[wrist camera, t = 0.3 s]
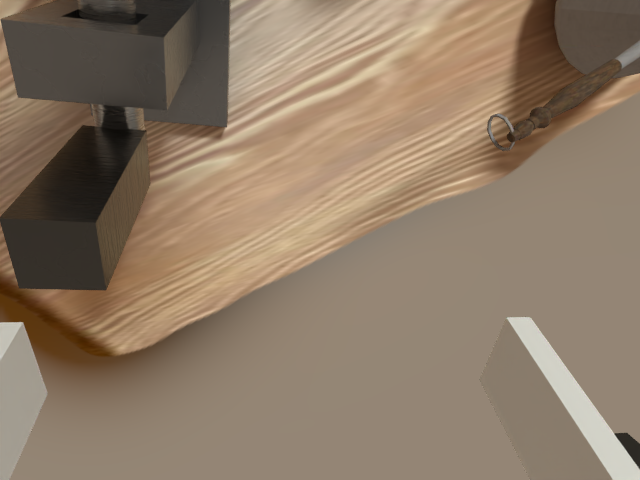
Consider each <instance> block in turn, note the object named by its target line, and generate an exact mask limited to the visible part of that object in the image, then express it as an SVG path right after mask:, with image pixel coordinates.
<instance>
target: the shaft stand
mask: <svg viewBox="0 0 640 480" xmlns="http://www.w3.org/2000/svg"><path fill="white" fill-rule="evenodd" d="M135 8H136V21H137V24H136V25H130V24H121V23H113V22H104V21H96V20H87V19H80V16H79V9H78V2H77V0H56V1H53V2H50V3H47V4H44V5H41V6H38V7H35V8H32V9H29V10H26V11H23V12H20V13H17V14H14V15H11V16H8V17H5V18H2V19H1V23H2V28H3V32H4V37H5V41H6V46H7V50H8V55H9V59H10V63H11V68H12V72H13V77H14V81H15V86H16V90H17V95H18V97H20V98H32V99H43V100H54V101H66V102H77V103H88V104H90V107H91V114H92V116H93V110H92V104H100V105H111V106H122V107H134V108H143V111H144V120H148V121H160V122H172V123H184V124H196V125H208V126H220V127H227V122H228V86H229V42H230V0H135Z"/></svg>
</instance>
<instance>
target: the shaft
mask: <svg viewBox="0 0 640 480" xmlns="http://www.w3.org/2000/svg"><path fill="white" fill-rule="evenodd" d="M77 2H78V9H79V16H80V19H87V20H96V21H104V22H113V23H121V24H130V25H136V24H137V21H136V8H135V0H77ZM92 110H93V117H94V125H95V126H85V125H82V127H81V128H80V129H79V130H78V131H77V132H76V133H75V134H74V135H73V137H72V138H71V139H70V140H69V141H68V142H67V143H66V144H65V146H64V147H63V148H62V149H61V150H60V151H59V152H58V153H57V154H56V156H55V157H54V158H53V159H52V160H51V161H50V162H49V163H48V164H47V166H46V167H45V168H44V169H43V170H42V171H41V172H40V173H39V174H38V176H37V177H36V178H35V179H34V180H33V181H32V182H31V183H30V185H29V186H28V187H27V188H26V189H25V190H24V191H23V192H22V193H21V195H20V196H19V197H18V198H17V199H16V200H15V201H14V202H13V203H12V205H11V206H10V207H9V208H8V209H7V210H6V211H5V212H4V213H3V215H2V216H1V217H0V223H1V226H2V230H3V233H4V237H5V240H6V244H7V247H8V251H9V254H10V258H11V261H12V265H13V268H14V272H15V275H16V279H17V282H18V286H19V288H27V289H71V290H106V289H107V287H108V285H109V282H110V280H111V277H112V275H113V273H114V270H115V268H116V265H117V263H118V260H119V258H120V256H121V253H122V251H123V248H124V246H125V244H126V241H127V239H128V236H129V234H130V232H131V229H132V227H133V224H134V222H135V219H136V217H137V215H138V212H139V210H140V207H141V205H142V203H143V200H144V198H145V195H146V193H147V190H148V188H149V186H150V173H149V160H148V147H147V134H146V130H145V124H144V111H143V108H134V107H122V106H111V105H100V104H92Z"/></svg>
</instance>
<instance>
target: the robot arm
mask: <svg viewBox="0 0 640 480" xmlns="http://www.w3.org/2000/svg"><path fill="white" fill-rule="evenodd" d="M480 382H481V384H482V386H483V388H484V390H485V392H486V394H487V396H488V398H489V400H490V402H491V403H492V405H493V407H494V410H495V412H496V413H497V415H498V417H499V419H500V421H501V423H502V425H503V427H504V429H505V431H506V433H507V435H508V437H509V439H510V441H511V443H512V445H513V447H514V449H515V451H516V453H517V455H518V457H519V459H520V461H521V463H522V465H523V467H524V468H525V470H526V473H527V475H528V477H529V479H530V480H640V444H639V443H638V442H637V441H636V440H635V439H633V438H632V437H631V436H630V435H629V434H628V433H615V434H614V433H613V432H612V430H611V429H610V428H609V426H608V425H607V423H606V422H605V421H604V419H603V418H602V416H601V415H600V414H599V412H598V411H597V409H596V408H595V407H594V405H593V404H592V402H591V401H590V400H589V398H588V397H587V396H586V394H585V393H584V391H583V390H582V389H581V387H580V386H579V385H578V383H577V382H576V380H575V379H574V377H573V376H572V375H571V373H570V372H569V371H568V369H567V368H566V367H565V365H564V364H563V362H562V361H561V359H560V358H559V357H558V355H557V354H556V352H555V351H554V350H553V348H552V347H551V345H550V344H549V343H548V341H547V340H546V339H545V337H544V336H543V334H542V333H541V332H540V330H539V329H538V327H537V326H536V325H535V323H534V322H533V321H532V319H531V318H530V317H513V318H506V320H505V322H504V325H503V327H502V329H501V331H500V334H499V336H498V338H497V341H496V343H495V345H494V347H493V350H492V352H491V354H490V357H489V359H488V361H487V363H486V366H485V368H484V370H483V373H482V375H481V377H480ZM47 394H48V393H47V390H46V387H45V384H44V382H43V379H42V376H41V373H40V370H39V367H38V364H37V361H36V358H35V355H34V352H33V350H32V347H31V344H30V341H29V338H28V335H27V332H26V329H25V326H24V324H23V322H10V323H9V322H2V323H0V480H9V479H10V477H11V475H12V472H13V470H14V468H15V466H16V463H17V461H18V459H19V457H20V454H21V452H22V450H23V448H24V446H25V443H26V441H27V439H28V437H29V434H30V432H31V430H32V428H33V425H34V423H35V421H36V419H37V417H38V414H39V412H40V410H41V408H42V405H43V403H44V401H45V399H46V396H47Z"/></svg>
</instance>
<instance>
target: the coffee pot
mask: <svg viewBox="0 0 640 480" xmlns="http://www.w3.org/2000/svg"><path fill="white" fill-rule="evenodd" d="M554 26H555V31H556V35H557V40H558V44H559V47H560V49H561V51H562V52H563V54H564V56H565V58H566V59H567V61H568V62H569V63H570V64H571V65H572V66H574V67H575V68H576V69H577V70H578V71H580V72H581V73H583V74H586V75H585V76H583V77H581V78H580V79H578V80H576V81H575V82H573V83H571V84H570V85H568V86H566V87H565V88H563V89H562V90H560V91H559V93H558V94H557V95H556V96H555V97H553V98H552V99H551V100H550V101H549V102H548V103H547V104H546V105H545V106H544V107H536V108H534V109H533V110H532V111H531V113H530V118H528V119H527V120H526V121H521V122H519V123H518V124H517V125H516V126H515V127H514V128H513V127H512V124H511V123H510V122H509V120H508V119H507V117H505V116H503V115H501V114H495V115H492V116H491V117H490V119H489V121H488V128H487V131H488V134H489V136H490V139H491V140H492V142H493V143H494V145H495V146H496V147H497V148H499V149H501V150H502V151H506V150H510V149H511V148H512V147H513V145H514V143H515V141H517V140H520V139H522V138H524V137H526V136H528V135H530V134H531V132H532V131H533V130H534V129H535V128H545V127H547V126H548V125H549V123H550V122H551V118H553V117H555V116H557V115H559V114H561V113H563V112H565V111H567V110H569V109H572V108H574V107H576V106H577V105H578V104H580V103H581V102H582V101H583V100H585V99H586V98H587V97H588V96H590V95H591V94H592V93H594V92H595V91H596V90H597V89H599V88H600V87H601V86H602V85H604V84H605V83H606V82H607V81H609V80H610V79H611V78H620V77H624V76H629V75H634V74H638V73H640V0H557V1H556V5H555V22H554ZM493 117H499V118H501V119H503V120H504V121H505V122H506V124H507V125H508V127H509V129H510V132H509V133H508V134H507V139H508V140H509V141H510V142H511V145H510V147H509V148H504V147H502V146H500V145H499V144H498V143H497V141H496V140H495V139H494V137H493V134H492V132H491V121H492V119H493Z"/></svg>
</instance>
